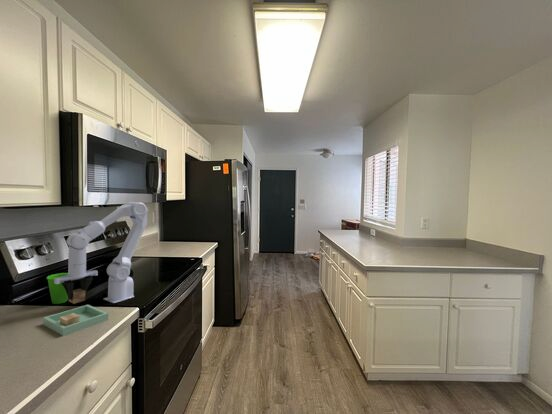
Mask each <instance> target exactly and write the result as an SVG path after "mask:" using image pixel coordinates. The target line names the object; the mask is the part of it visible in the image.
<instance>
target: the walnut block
mask: <svg viewBox="0 0 552 414" xmlns="http://www.w3.org/2000/svg"><path fill="white" fill-rule="evenodd" d="M85 301H86V296H85V290H82V289H81V288H77V289H73V299H71V300H70V299H68V302H70V303H72V304H73V305H74V304H77V303H81V302H85Z"/></svg>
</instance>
